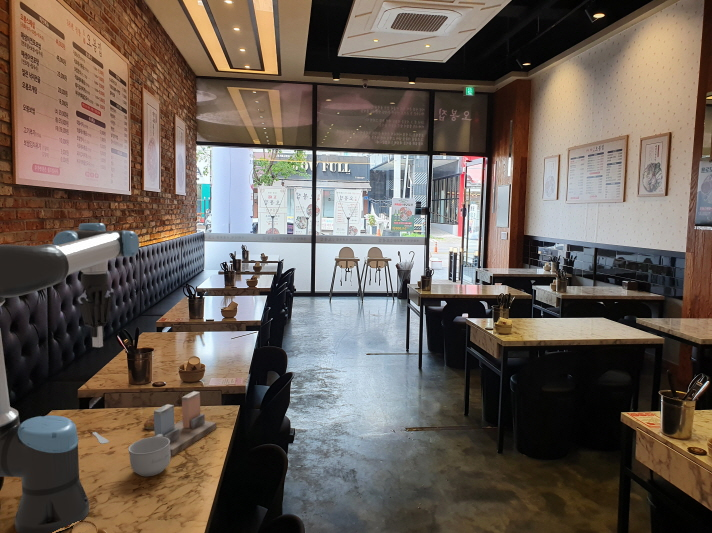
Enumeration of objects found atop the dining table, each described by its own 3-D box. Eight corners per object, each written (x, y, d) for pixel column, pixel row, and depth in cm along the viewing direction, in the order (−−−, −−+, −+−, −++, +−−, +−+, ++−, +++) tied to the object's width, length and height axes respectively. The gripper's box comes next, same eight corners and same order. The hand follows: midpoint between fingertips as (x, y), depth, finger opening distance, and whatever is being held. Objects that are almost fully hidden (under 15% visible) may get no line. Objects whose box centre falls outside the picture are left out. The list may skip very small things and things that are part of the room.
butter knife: (100, 444, 165) (110, 441, 167) (76, 422, 182) (85, 420, 184) (100, 445, 165) (110, 443, 167) (76, 423, 182) (85, 421, 184)
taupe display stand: (172, 456, 157) (172, 440, 157) (140, 450, 161) (139, 434, 161) (216, 428, 178) (216, 413, 177) (186, 423, 182) (186, 409, 181)
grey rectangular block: (161, 444, 160) (160, 412, 159) (154, 442, 161) (153, 410, 160) (174, 436, 166) (173, 405, 165) (168, 435, 167) (167, 404, 166)
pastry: (155, 432, 175) (155, 421, 175) (138, 430, 177) (137, 418, 177) (172, 421, 184) (172, 410, 184) (156, 419, 186) (155, 409, 185)
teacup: (157, 482, 142) (156, 454, 141) (120, 478, 144) (119, 450, 143) (184, 459, 155) (183, 432, 155) (150, 455, 158) (149, 429, 157)
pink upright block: (189, 427, 172) (188, 397, 171) (182, 426, 173) (181, 397, 172) (200, 421, 178) (199, 392, 177) (194, 420, 179) (193, 391, 178)
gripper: (101, 270, 174) (104, 340, 176) (67, 274, 161) (71, 350, 164) (119, 270, 171) (122, 342, 173) (86, 275, 159) (90, 352, 161)
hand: (97, 346), depth 169 cm, fingers closed
